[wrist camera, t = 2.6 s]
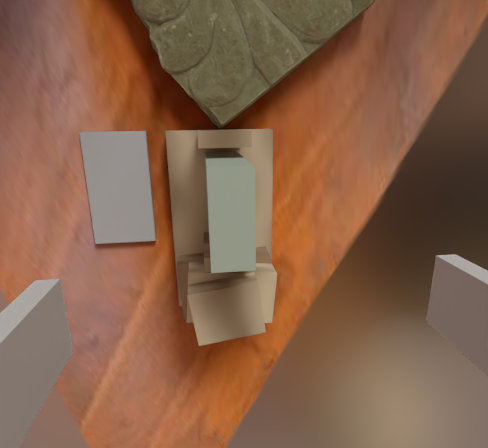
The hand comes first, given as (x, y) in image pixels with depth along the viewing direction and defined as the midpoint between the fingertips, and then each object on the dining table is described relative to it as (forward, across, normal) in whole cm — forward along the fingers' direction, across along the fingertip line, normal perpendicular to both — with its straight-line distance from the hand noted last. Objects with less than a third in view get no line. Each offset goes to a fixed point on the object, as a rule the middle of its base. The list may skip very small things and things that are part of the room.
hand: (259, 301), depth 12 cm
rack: (+24, 0, -3) cm, 25 cm away
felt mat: (+24, -10, 0) cm, 26 cm away
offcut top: (+17, 0, -10) cm, 20 cm away
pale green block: (+22, 0, 0) cm, 22 cm away
